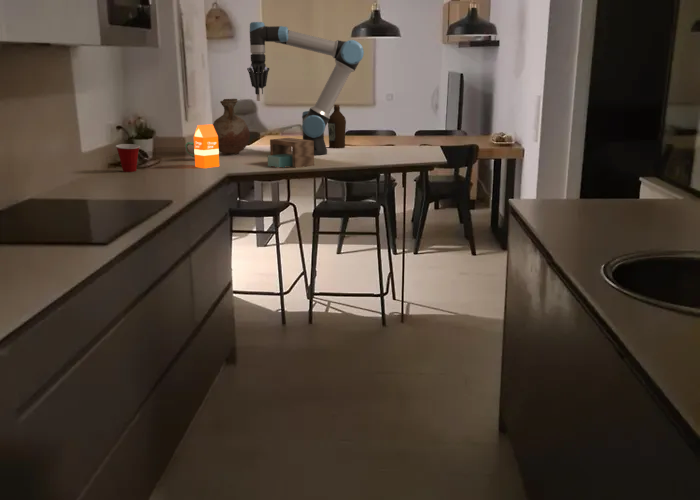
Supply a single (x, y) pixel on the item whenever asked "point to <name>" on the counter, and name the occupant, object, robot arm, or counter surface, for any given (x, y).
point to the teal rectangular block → (280, 160)
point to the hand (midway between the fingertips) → (259, 100)
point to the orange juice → (206, 147)
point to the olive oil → (336, 129)
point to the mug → (187, 148)
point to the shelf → (294, 150)
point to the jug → (231, 130)
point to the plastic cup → (128, 156)
